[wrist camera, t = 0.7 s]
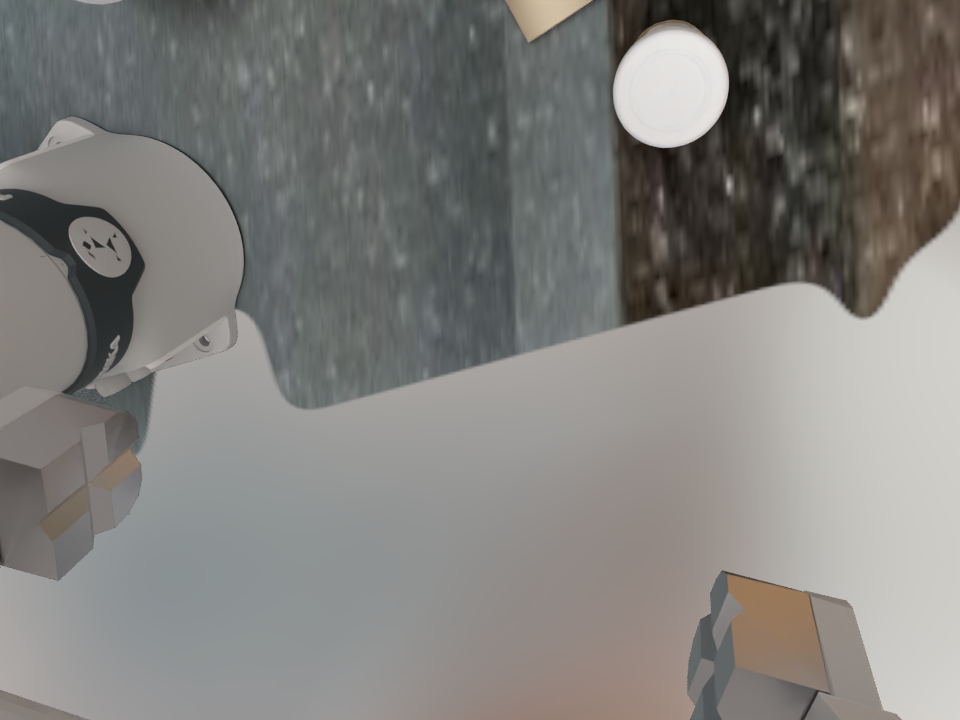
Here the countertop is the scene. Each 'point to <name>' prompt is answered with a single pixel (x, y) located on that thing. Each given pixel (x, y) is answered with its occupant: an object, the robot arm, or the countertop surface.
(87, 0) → the disposable coffee cup
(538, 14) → the maple board
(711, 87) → the sprinkles bottle
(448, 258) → the countertop surface
